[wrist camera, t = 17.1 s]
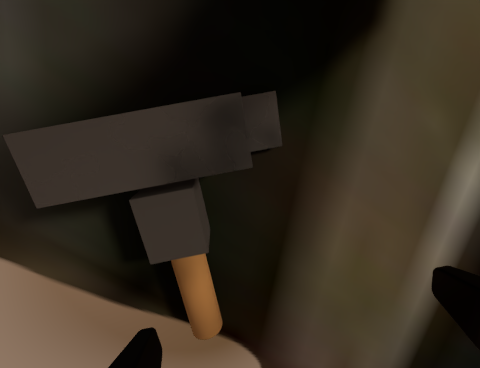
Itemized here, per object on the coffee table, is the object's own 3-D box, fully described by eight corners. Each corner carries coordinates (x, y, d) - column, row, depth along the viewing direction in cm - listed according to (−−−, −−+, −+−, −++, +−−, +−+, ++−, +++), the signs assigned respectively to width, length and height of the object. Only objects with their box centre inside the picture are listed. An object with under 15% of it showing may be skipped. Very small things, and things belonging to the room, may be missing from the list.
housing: (272, 91, 18) (297, 81, 12) (279, 144, 19) (305, 157, 13) (32, 135, 17) (-60, 146, 12) (54, 186, 19) (-20, 219, 13)
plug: (146, 183, 19) (128, 200, 15) (197, 174, 19) (192, 188, 16) (187, 317, 23) (181, 355, 20) (229, 309, 23) (231, 345, 20)
